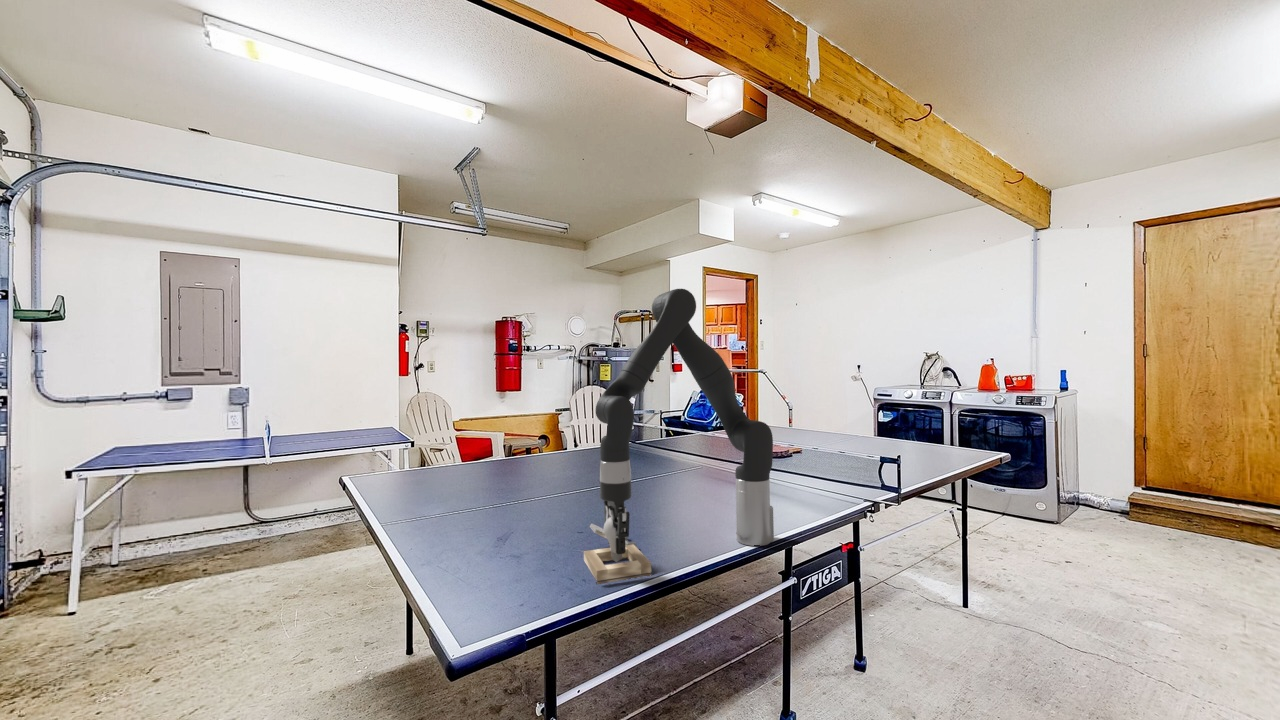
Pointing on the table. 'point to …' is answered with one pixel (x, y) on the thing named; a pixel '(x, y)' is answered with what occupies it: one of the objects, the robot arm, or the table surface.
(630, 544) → the keeper bracket
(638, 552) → the socket
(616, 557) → the lightbulb
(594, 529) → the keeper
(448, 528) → the table surface
